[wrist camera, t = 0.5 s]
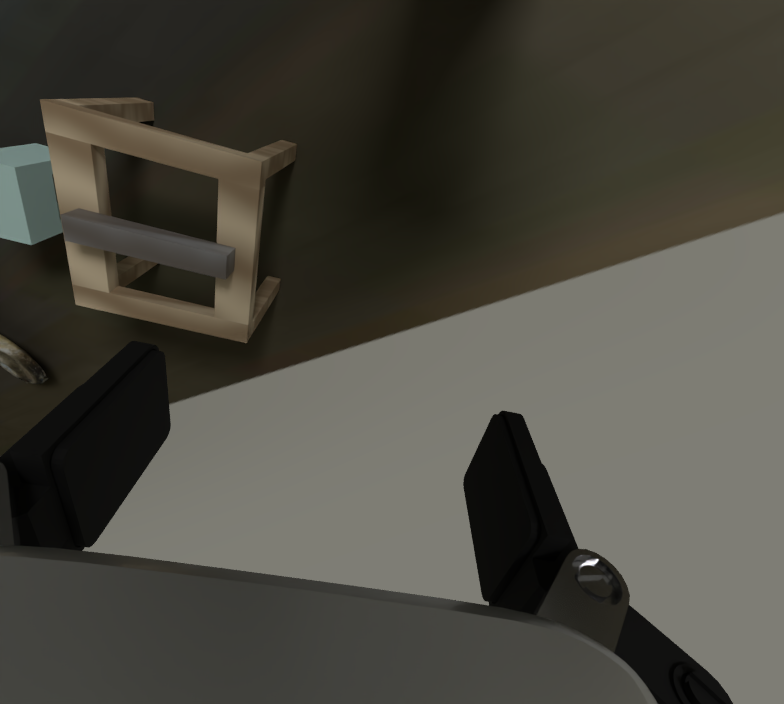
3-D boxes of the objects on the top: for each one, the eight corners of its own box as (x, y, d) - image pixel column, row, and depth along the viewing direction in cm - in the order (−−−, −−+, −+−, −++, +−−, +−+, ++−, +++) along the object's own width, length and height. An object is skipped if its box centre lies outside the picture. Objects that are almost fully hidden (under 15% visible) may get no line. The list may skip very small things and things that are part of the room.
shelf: (136, 97, 38) (16, 99, 26) (297, 144, 40) (253, 166, 28) (147, 258, 46) (59, 315, 34) (279, 290, 48) (239, 354, 36)
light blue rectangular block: (35, 143, 40) (-39, 153, 33) (78, 154, 40) (14, 167, 34) (48, 211, 44) (-16, 233, 37) (88, 221, 44) (31, 245, 37)
